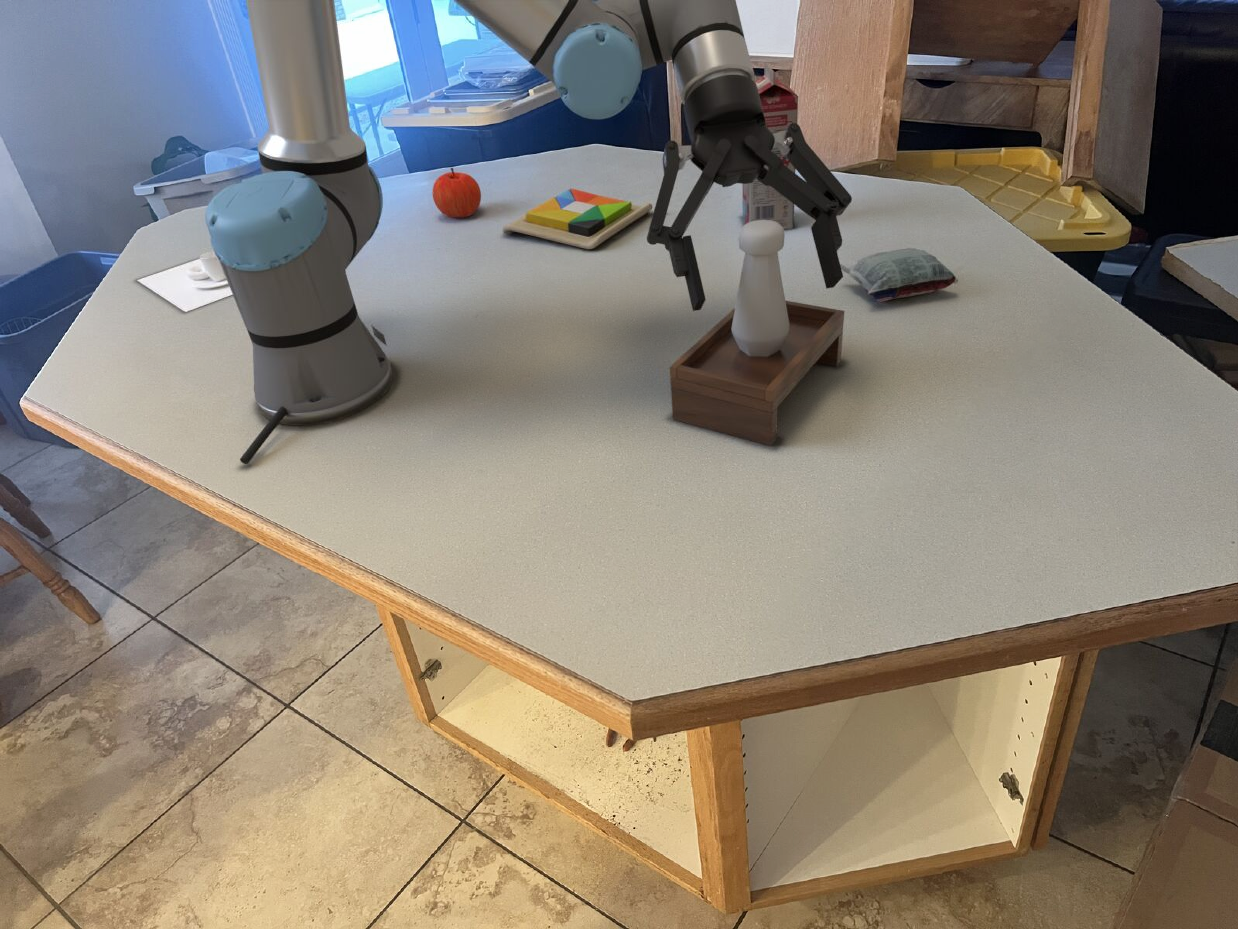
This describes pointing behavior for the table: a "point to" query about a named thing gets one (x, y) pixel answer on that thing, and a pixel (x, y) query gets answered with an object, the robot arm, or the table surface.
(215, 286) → the teacup and saucer
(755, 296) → the salt shaker
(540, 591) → the table surface
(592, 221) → the wooden puzzle
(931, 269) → the packaged food
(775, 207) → the juice carton
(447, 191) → the apple
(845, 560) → the table surface
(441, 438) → the table surface
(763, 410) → the spice rack
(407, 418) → the table surface
